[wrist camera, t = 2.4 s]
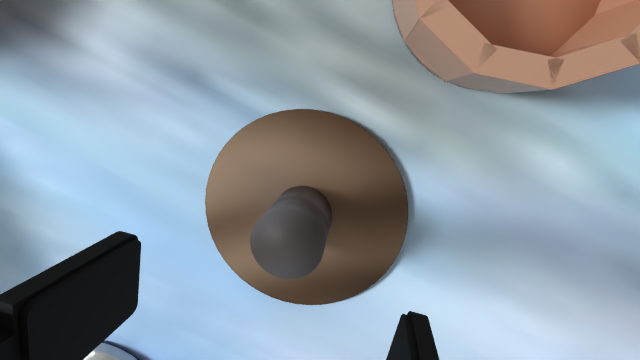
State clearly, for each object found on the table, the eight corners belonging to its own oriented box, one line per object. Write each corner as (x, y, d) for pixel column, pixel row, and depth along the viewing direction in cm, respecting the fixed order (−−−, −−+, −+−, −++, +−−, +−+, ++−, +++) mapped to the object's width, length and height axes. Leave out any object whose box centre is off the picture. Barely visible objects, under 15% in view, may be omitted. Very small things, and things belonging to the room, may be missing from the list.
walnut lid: (428, 276, 22) (450, 333, 17) (248, 314, 25) (216, 374, 19) (375, 80, 20) (381, 70, 14) (181, 143, 22) (122, 156, 17)
